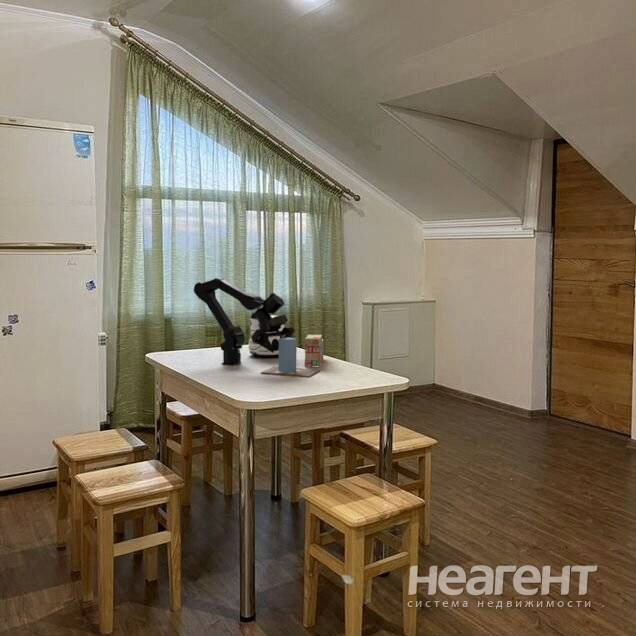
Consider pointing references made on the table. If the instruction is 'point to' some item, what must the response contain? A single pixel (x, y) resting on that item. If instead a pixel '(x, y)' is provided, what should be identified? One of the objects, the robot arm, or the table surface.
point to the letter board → (298, 372)
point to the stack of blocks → (313, 350)
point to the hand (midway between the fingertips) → (282, 351)
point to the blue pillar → (287, 354)
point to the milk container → (260, 350)
